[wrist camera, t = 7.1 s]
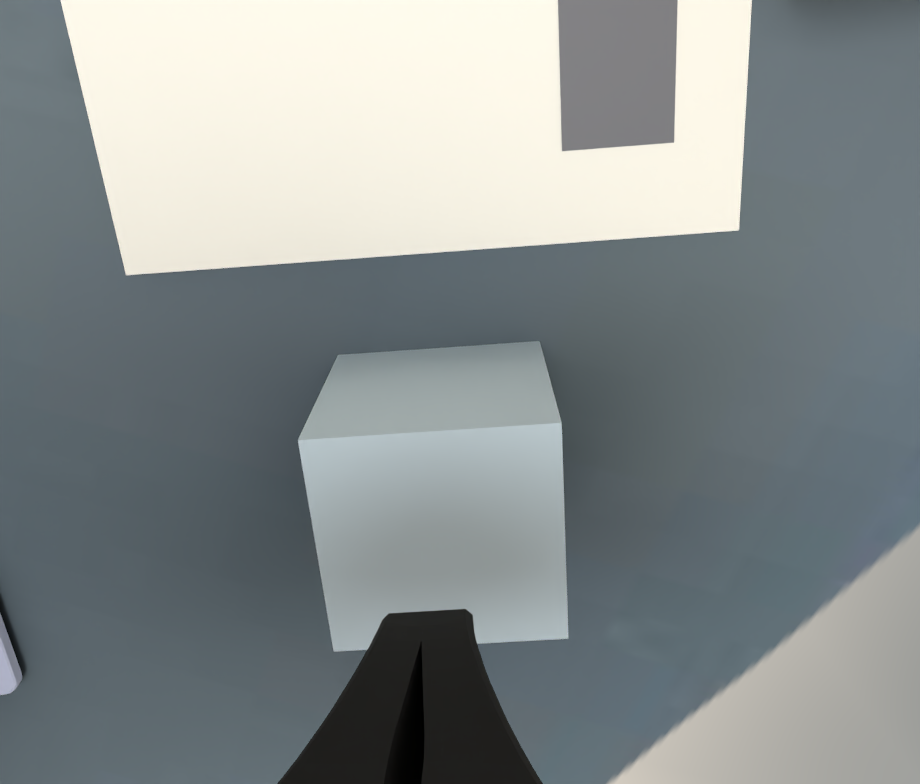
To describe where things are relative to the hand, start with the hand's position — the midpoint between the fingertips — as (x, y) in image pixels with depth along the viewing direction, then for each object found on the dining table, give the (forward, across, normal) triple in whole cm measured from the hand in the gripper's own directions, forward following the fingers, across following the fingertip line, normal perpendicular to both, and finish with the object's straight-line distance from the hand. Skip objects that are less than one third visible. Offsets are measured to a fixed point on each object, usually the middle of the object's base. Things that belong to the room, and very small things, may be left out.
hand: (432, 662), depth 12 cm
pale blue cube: (+8, 0, 0) cm, 9 cm away
